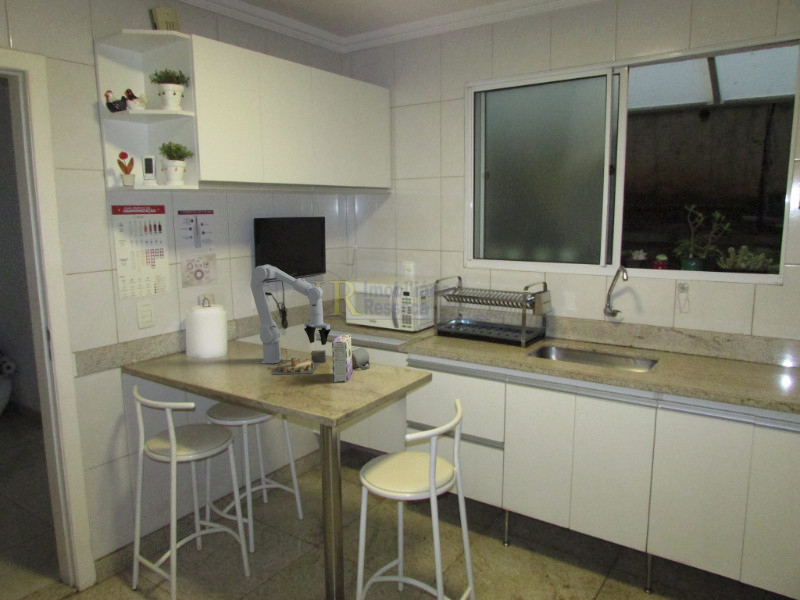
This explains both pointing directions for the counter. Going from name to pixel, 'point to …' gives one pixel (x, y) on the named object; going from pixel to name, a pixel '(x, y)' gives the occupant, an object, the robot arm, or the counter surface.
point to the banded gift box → (318, 356)
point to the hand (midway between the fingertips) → (317, 343)
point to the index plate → (296, 372)
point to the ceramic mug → (360, 358)
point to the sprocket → (296, 365)
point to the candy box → (342, 358)
